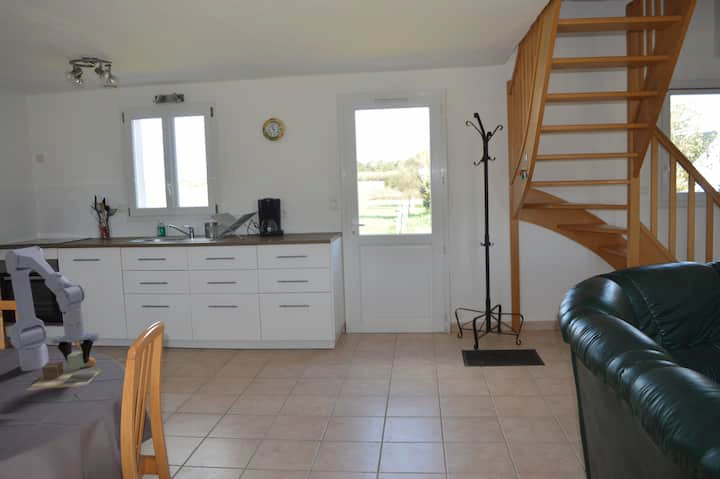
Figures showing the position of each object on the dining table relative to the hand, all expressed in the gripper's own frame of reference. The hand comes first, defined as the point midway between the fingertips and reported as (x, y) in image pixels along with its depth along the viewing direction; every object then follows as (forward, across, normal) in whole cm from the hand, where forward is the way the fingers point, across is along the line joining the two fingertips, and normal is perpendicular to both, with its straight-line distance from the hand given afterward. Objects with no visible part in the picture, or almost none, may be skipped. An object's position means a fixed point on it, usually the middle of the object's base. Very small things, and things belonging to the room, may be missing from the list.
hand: (78, 363), depth 177 cm
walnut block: (+5, -10, +4) cm, 12 cm away
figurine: (+7, -2, +12) cm, 14 cm away
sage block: (+1, 0, 0) cm, 1 cm away
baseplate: (+6, -4, 0) cm, 8 cm away
